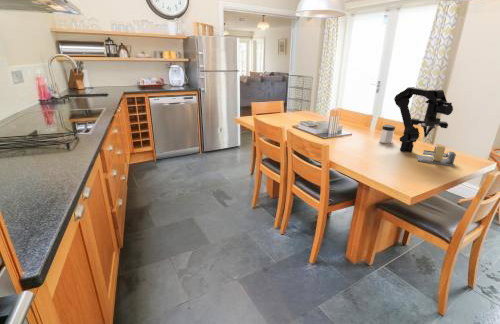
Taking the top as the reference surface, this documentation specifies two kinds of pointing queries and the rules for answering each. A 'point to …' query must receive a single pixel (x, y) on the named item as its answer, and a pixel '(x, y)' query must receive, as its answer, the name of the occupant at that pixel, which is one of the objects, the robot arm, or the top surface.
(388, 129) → the jar
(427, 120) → the robot arm
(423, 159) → the shaft stand
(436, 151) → the tan notched block
